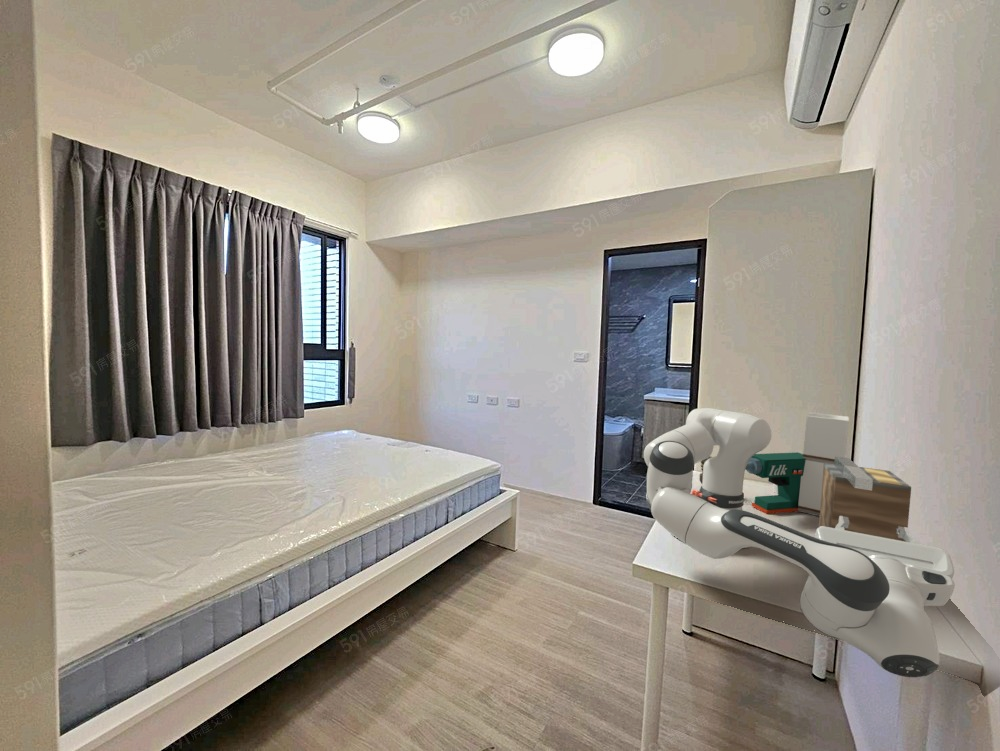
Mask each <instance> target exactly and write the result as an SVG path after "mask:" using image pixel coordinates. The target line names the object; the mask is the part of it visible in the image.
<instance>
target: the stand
mask: <svg viewBox="0 0 1000 751" xmlns="http://www.w3.org/2000/svg"><path fill="white" fill-rule="evenodd" d="M858 467H859V468H860V469H861V470H863V471H864V472H865V473H866V474H867V475H868V476H869V477H870V478H872V479H873V485H872V490H865V489H858V488H854V486H853V485H852V484H851V483H850V482H849V481H848V480H847V479H846V478H845V477H844V475H843V474H842V473H841V472H840V471H839V470H838V469H837V468H836V467H835V466H834V464H832V463H824V468H823V481H822V494H821V507H820V516H819V520H818V521H819V524H818V528H819V527H820V526H825V527H830V528H835V527H836V525H837V524H838V523H839V516H844V517H848V518H849V525H848V526H849V527H848V528H844V530H846V531H851V532H857V533H862V534H867V535H873V536H878V537H883V538H888V539H894V540H899V541H904V542H906V541H905V540H904V539H903V538H898V536H897V533H896V529H897V526H901V527H907V528H908V529H909V516H910V507H911V505H910V504H911V498H912V496H911V494H912V486H911V485H909V484H908V483H906V482H905V481H904V480H902V479H901V478H900V477H898V476H897V475H895V474H894V472H892V471H890V470H886V469H880V468H879V469H878V468H872V467H871V468H870V467H865V466H864V467H863V466H858Z"/></svg>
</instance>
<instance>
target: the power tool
mask: <svg viewBox="0 0 1000 751" xmlns="http://www.w3.org/2000/svg"><path fill="white" fill-rule="evenodd" d="M805 461H806V459H805V458H803V453H801V452H776V453H775V452H773V453H770V452H769V453H756V454H755V455H753V456H752V458H751V459H750V460H749V462H748V464H747V466H746V469H745V471H746V472H747V473H749V474H753V475H754V476H757V477H759V478H761V479H768V480H767V481H768V483H772V485H773V484H775V485H777V486H778V494H774V495H757V496H754V502H751V507H752V508H753V507H754V509H757V510H758V511H760V512H762V513H764V514H770V515H771V514H782V513H781V512H784V513H793V512H792V511H797V512H799V511H798V503H799V492H800V482H801V476H803V472H804V466H805Z"/></svg>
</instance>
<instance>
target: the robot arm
mask: <svg viewBox="0 0 1000 751" xmlns="http://www.w3.org/2000/svg"><path fill="white" fill-rule="evenodd" d="M771 440H772V428H771V426H770V424H769V423H768V421H767V420H765V419H763V418H760V417H757V416H755V415H753V414H750V413H744V412H738V411H731V410H724V409H719V408H713V407H703V408H702V407H701V408H694V409H692V410H691V411H690V412H689V413H688V415H687V416H686V420H685V424H684V425H682V426H679V427H677V428H674V429H672V430H669V431H667V432H665V433H663V434H661V435H660V436H658V437H656V438H655V439H653V440H651V441H650V442H649V443H648V444H647V445H646V446H645V448H644V449H643V459H644V462H645V464H646V466H647V472H646V493H645V498H646V504H647V507H648V509H649V510H650V511H651V515H652V517H653V519H654V520H655V521H656V522H657V523H658V524H659V525H660V526H662V527H663V528H664V529H665V530H666V531H667V532H669V533H670V534H671V535H672V536H673V537H674V536H675V537H674V538H676V539H677V538H678V539H677V540H679V541H681V542H682V543H684V544H685V545H687V546H688V547H690V549H693V550H695V551H696V552H698V553H699V554H702V555H703V556H706V557H708V558H709V559H710V558H711V559H713V560H715V559H726V558H728V557H731V556H732V555H735V554H736V553H737V552H739V551H740V550H742V549H747V548H750V547H751V548H757V549H761V550H763V551H765V552H767V553H770V554H771V555H773V556H776V557H778V558H780V559H783V560H785V561H788V562H789V563H791V564H794V565H795V566H798V567H800V568H802V569H803V570H804V571H805V572H807V573H808V577H807V579H806V582H805V583H804V586H803V589H802V592H801V595H800V597H799V607H800V610H801V613H802V614H803V616H804V617H805V619H806V620H807V621H808V622H809V624H811V626H812V627H814V628H815V629H816V630H818V631H819V632H821V633H822V634H823V635H825V636H828V637H831V638H834V639H838V640H840V641H843V642H845V643H847V644H849V645H851V646H853V647H854V648H856V649H858V650H860V651H861V652H863V653H865V655H867V656H868V657H869V658H871V659H872V660H873V661H874V662H875V663H876V664H877V665H878V666H879V667H880V668H881V669H883V670H885V672H889V673H890V674H893V675H897V676H900V677H906V678H921V677H928V676H929V675H931V674H933V673H934V672H935V671H936V670H938V668H939V666H940V659H941V658H940V652H939V645H938V640H937V637H936V634H935V630H934V627H933V622H932V620H931V618H930V616H929V615H928V614H927V613H926V610H925V606H927V607H928V606H929V607H930V606H931V607H942V606H945V605H946V604H947V603H948V601H949V600H950V599H951V597H952V595H953V593H954V592H955V585H956V584H955V582H954V580H953V578H954V574H955V569H954V568H955V567H954V564H953V560H952V558H951V555H950V554H949V553H948V552H947V551H945V550H944V549H942V548H940V547H937V546H929V545H924V544H921V541H920V540H919V539H917V538H916V536H914V535H913V534H911V533H910V531H909V527H908V528H907V527H901V526H897V529H896V533H897V536H898V538H903V539H904V540H905V541H906V542H904V541H899V540H894V539H888V538H883V537H878V536H873V535H867V534H862V533H857V532H851V531H846V530H844V528H848V527H849V526H848V525H849V518H848V517H844V516H839V523H838V524H837V525H836V527H835V528H830V527H825V526H820V527H819V526H818V527H817V528H816V530H815V532H814V533H815V534H814V536H812V535H809V534H806V533H804V532H801V531H799V530H798V529H797V530H796V529H794V528H791V527H789V526H787V525H783V524H781V523H780V522H776V521H774V520H771V519H768V518H766V517H763V516H761V515H758V514H755V513H752V512H750V511H746V510H744V509H743V506H744V505H745V504H744V502H745V494H744V492H743V490H744V482H745V481H744V480H745V471H746V470H745V469H746V466H747V464H748V462H749V460H750V459H751V458H752V456H753V455H755V454H759V452H761V451H762V452H763V450H765V449H766V448H767V447H768V446H769V444H770V442H771ZM714 446H718V447H719V449H718V452H717V454H716V455H715V456H712V453H713V450H714V448H715V447H714ZM709 456H711V457H712V458H710V459H708V460H707V461H706V462H705V463H704V465H703V471H702V472H703V481H702V484H701V486H700V488H699V490H697V489H692V488H693V476H694V474H693V472H694V471H693V470H694V467H695V465H696V464H697V463H701V461H702V460H704V459H706V458H708V457H709Z"/></svg>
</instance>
